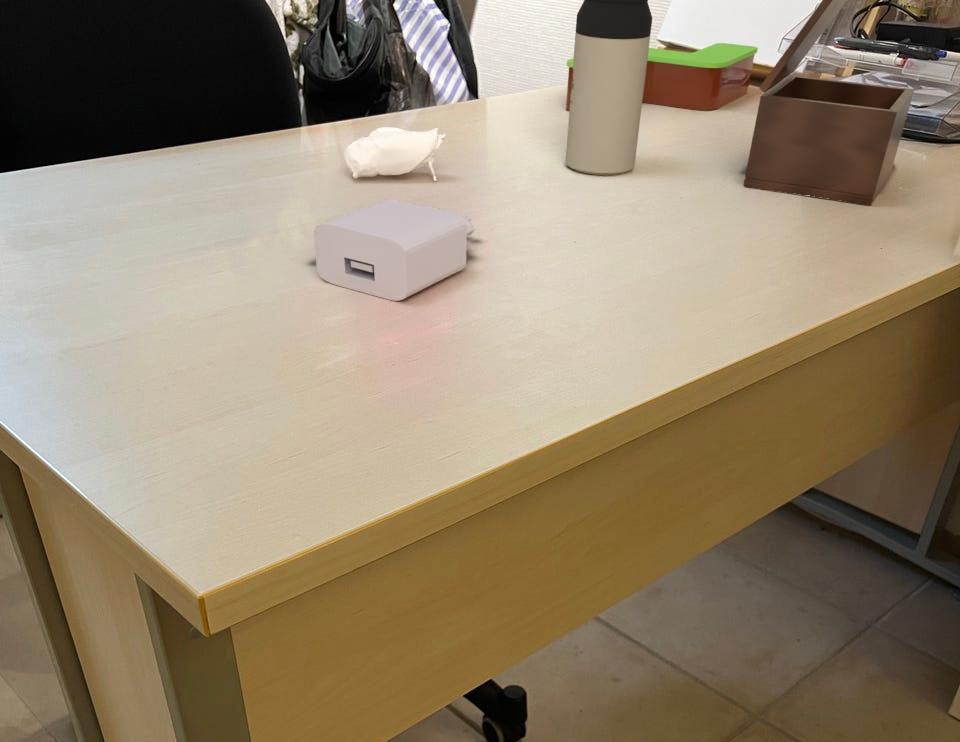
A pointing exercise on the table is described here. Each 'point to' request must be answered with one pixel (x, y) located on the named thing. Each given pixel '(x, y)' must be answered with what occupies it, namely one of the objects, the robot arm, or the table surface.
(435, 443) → the table surface
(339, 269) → the charger
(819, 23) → the lid
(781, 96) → the chest
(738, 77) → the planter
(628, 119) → the travel mug
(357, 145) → the bird figurine
